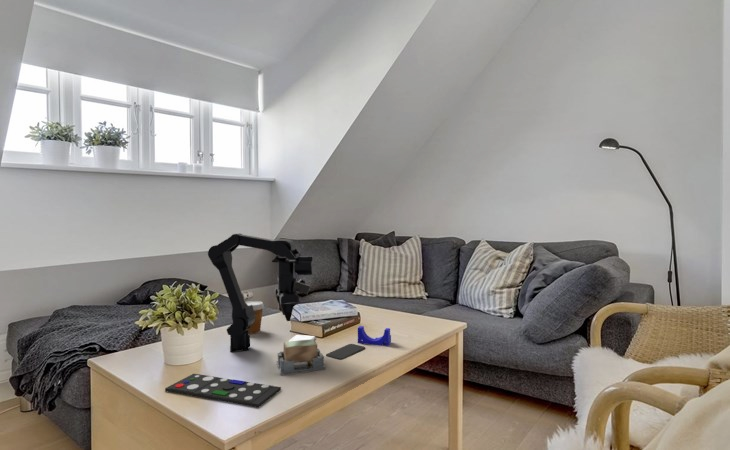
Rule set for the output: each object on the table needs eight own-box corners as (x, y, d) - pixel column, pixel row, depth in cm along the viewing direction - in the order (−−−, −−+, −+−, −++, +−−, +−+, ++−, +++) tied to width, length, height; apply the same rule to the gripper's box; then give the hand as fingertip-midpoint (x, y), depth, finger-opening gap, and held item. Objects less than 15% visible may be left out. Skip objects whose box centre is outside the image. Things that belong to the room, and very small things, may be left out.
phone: (324, 354, 147) (350, 343, 159) (324, 357, 147) (350, 345, 159) (341, 359, 142) (366, 347, 155) (341, 361, 142) (366, 349, 155)
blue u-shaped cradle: (391, 342, 162) (391, 327, 161) (388, 346, 157) (388, 330, 157) (361, 340, 165) (361, 325, 165) (357, 343, 161) (357, 328, 161)
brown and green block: (286, 364, 132) (285, 347, 132) (283, 357, 138) (283, 341, 137) (317, 360, 135) (317, 344, 135) (314, 354, 141) (313, 338, 140)
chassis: (280, 375, 129) (280, 362, 129) (276, 364, 139) (276, 352, 139) (325, 369, 134) (325, 357, 134) (318, 359, 143) (318, 347, 143)
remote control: (193, 378, 128) (193, 371, 128) (280, 392, 119) (280, 385, 118) (165, 393, 118) (165, 386, 118) (258, 409, 108) (258, 402, 108)
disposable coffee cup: (263, 334, 172) (262, 305, 172) (239, 335, 170) (238, 306, 170) (265, 328, 181) (264, 300, 181) (242, 329, 180) (241, 301, 180)
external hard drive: (315, 340, 167) (304, 350, 155) (295, 338, 168) (283, 348, 156) (315, 335, 167) (304, 345, 154) (295, 334, 168) (283, 344, 156)
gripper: (313, 277, 145) (313, 322, 145) (303, 270, 162) (303, 310, 163) (280, 279, 141) (281, 325, 141) (274, 271, 159) (274, 312, 159)
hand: (286, 317), depth 151 cm, fingers open, 9 cm apart
